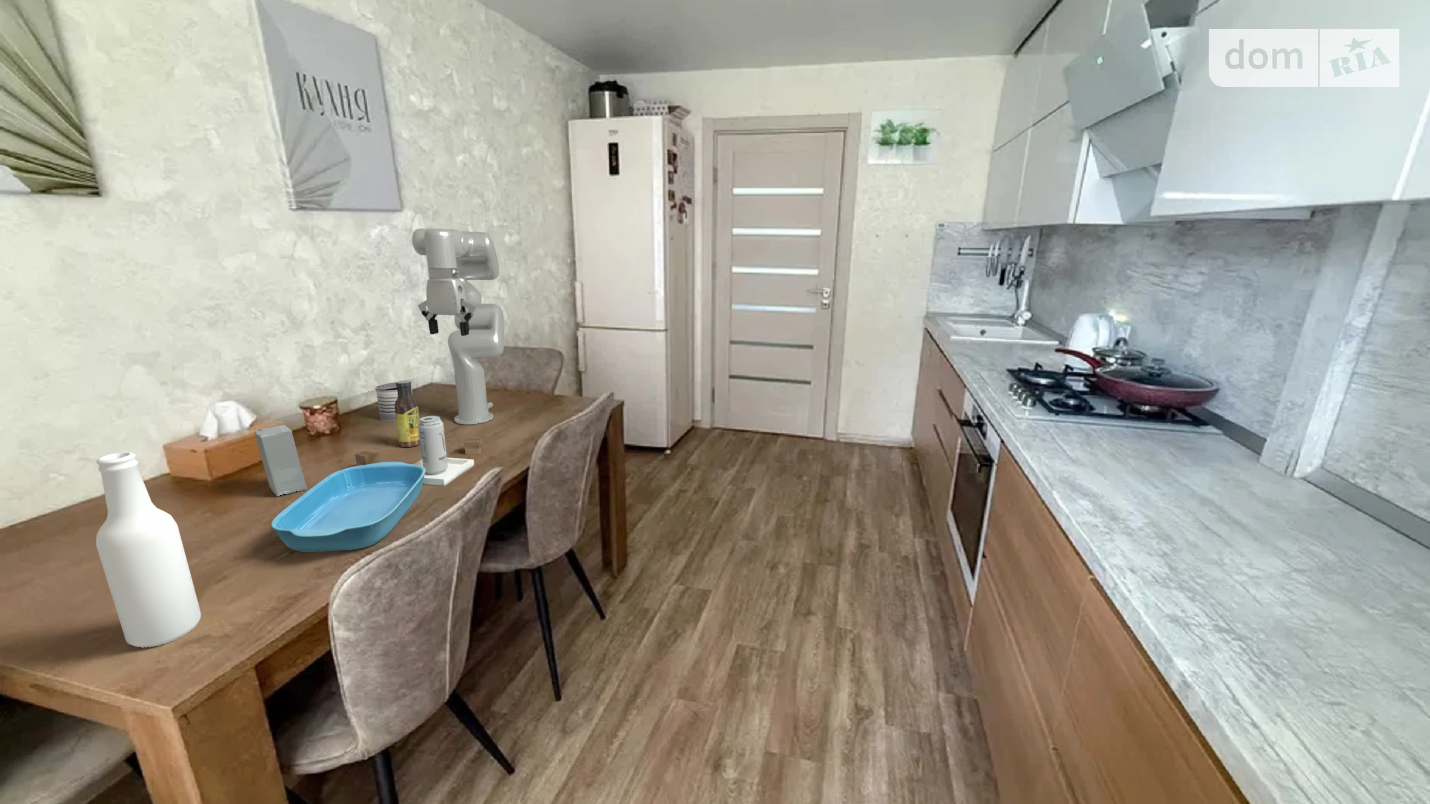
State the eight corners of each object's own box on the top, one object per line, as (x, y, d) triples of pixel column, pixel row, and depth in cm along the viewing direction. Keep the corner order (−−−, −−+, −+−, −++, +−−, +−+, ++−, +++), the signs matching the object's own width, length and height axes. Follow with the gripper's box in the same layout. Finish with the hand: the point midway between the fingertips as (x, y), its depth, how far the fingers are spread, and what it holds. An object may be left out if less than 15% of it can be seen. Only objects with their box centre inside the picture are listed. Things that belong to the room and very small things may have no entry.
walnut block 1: (371, 466, 157) (368, 449, 156) (381, 468, 156) (378, 451, 154) (357, 471, 154) (354, 454, 152) (367, 473, 152) (365, 456, 151)
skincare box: (307, 490, 142) (296, 430, 137) (272, 498, 137) (259, 436, 132) (299, 480, 147) (288, 422, 143) (265, 488, 142) (252, 428, 138)
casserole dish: (379, 561, 112) (374, 529, 110) (254, 568, 108) (247, 535, 106) (439, 484, 147) (436, 459, 145) (346, 488, 144) (342, 462, 142)
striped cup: (395, 423, 194) (391, 389, 191) (371, 418, 198) (366, 385, 194) (423, 414, 204) (419, 381, 201) (399, 410, 208) (395, 378, 205)
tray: (428, 462, 161) (427, 456, 160) (474, 465, 159) (473, 459, 158) (394, 481, 147) (393, 475, 147) (444, 485, 145) (443, 479, 145)
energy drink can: (447, 474, 151) (441, 420, 147) (422, 476, 149) (415, 422, 145) (449, 466, 157) (443, 414, 153) (425, 468, 155) (418, 416, 151)
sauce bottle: (415, 448, 171) (406, 384, 165) (394, 447, 171) (385, 384, 165) (426, 441, 177) (418, 379, 172) (406, 440, 177) (398, 379, 172)
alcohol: (111, 645, 87) (53, 464, 79) (174, 610, 96) (127, 443, 87) (156, 654, 86) (101, 470, 77) (216, 618, 94) (173, 448, 86)
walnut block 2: (468, 450, 171) (466, 437, 170) (482, 449, 171) (481, 436, 170) (465, 454, 167) (464, 442, 166) (479, 454, 168) (478, 441, 167)
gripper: (478, 274, 163) (484, 333, 168) (423, 273, 166) (430, 331, 170) (464, 276, 156) (470, 337, 161) (406, 274, 158) (414, 335, 163)
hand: (449, 334), depth 166 cm, fingers open, 9 cm apart
